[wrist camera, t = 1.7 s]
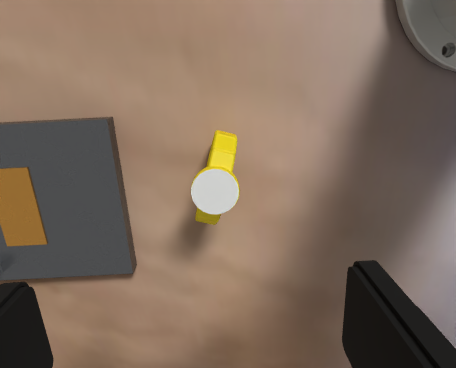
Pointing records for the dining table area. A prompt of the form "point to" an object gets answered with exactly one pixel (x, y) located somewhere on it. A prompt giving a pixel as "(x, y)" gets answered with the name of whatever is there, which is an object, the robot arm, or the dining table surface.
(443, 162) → the dining table surface
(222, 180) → the watch
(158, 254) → the dining table surface
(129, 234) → the gray fixture board
